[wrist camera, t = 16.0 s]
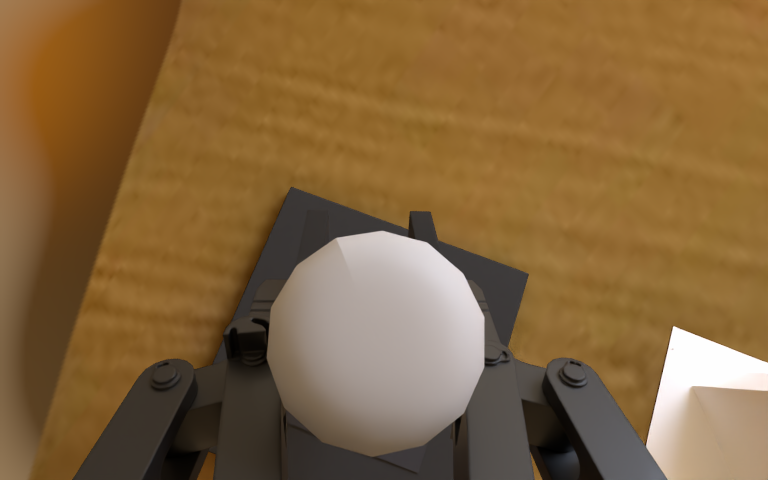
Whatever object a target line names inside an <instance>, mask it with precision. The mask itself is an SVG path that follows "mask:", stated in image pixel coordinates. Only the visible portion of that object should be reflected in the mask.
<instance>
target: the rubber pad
mask: <svg viewBox="0 0 768 480" xmlns="http://www.w3.org/2000/svg"><path fill="white" fill-rule="evenodd" d="M307 210H329V242H331V241H332V240H334V239H335V238H339V237H345V236H352V235H358V234H365V233H371V232H378V231H385V232H389V233H392V234H396V235H400V236H404V237H408V231H409V230H408V229H405V228H402V227H400V226H397V225H394V224H392V223H389V222H386V221H383V220H381V219H378V218H375V217H372V216H370V215H367V214H364V213H361V212H359V211H356V210H353V209H351V208H348V207H345V206H342V205H340V204H337V203H334V202H331V201H329V200H326V199H323V198H320V197H318V196H315V195H312V194H310V193H307V192H304V191H301V190H299V189H296V188H293V187H291V188H290V190H289V192H288V194H287V197H286V199H285V201H284V203H283V206H282V208H281V210H280V212H279V215H278V217H277V219H276V222H275V224H274V226H273V228H272V231H271V233H270V235H269V237H268V240H267V242H266V244H265V246H264V249H263V251H262V253H261V255H260V258H259V260H258V262H257V264H256V267H255V269H254V271H253V273H252V276H251V278H250V280H249V282H248V285H247V287H246V289H245V292H244V294H243V296H242V298H241V301H240V303H239V305H238V307H237V310H236V312H235V314H234V316H233V319H232V321H231V323H232V322H233V321H235V320H237V319H239V318H241V317H245V316H248V315H249V312H250V309H251V306H252V303H253V299H254V296H255V293H256V290H257V288H258V287H259V286H260V285H261V284H262V283H263V282H264V281H265V280H266V279H276V280H288V279H289V277H290V276H291V274H292V272H293V271H294V269H295V267H296V262H297V258H298V253H299V248H300V244H301V239H302V234H303V229H304V225H305V220H306V215H307ZM438 242H439V246H440V250H441V254H442V256H443V257H444V258H446V259H447V260H448V261H449V262H450V263H451V264H453V265H454V266H455V267H456V268H457V269H458V270H460V271H461V272H462V273H463V274H464V276H465V278H466V280H473V281H474V282H475V283H476V284H477V285H478V286H479V287H480V288H481V289H482V291H483V294H484V297H485V300H486V303H487V306H488V308H489V312H490V314H491V317H492V320H493V323H494V325H495V328H496V331H497V334H498V337H499V340H500V342H501V344H502V345H504V346H506V347H508V344H509V341H510V337H511V334H512V330H513V327H514V323H515V320H516V316H517V313H518V310H519V306H520V303H521V299H522V296H523V292H524V289H525V285H526V282H527V279H528V275H529V274H528V273H525V272H523V271H520V270H517V269H514V268H512V267H509V266H506V265H503V264H501V263H498V262H495V261H493V260H490V259H487V258H484V257H482V256H479V255H476V254H473V253H471V252H468V251H465V250H463V249H460V248H457V247H454V246H452V245H449V244H446V243H443V242H441V241H438ZM231 323H230V324H231ZM225 359H227V355H226V350H225V344H224V339H223V341H222V343H221V346H220V348H219V350H218V352H217V355H216V357H215V359H214V362H213V364H212V365H214V364H217V363H219V362H221V361H223V360H225ZM286 418H287V448H288V480H453V439H450V434H451V428H452V423H451V424H450V425H449V426H447V427H446V428H445V429H444V430H442V431H441V432H440V433H438V434H437V435H436V436H435V437H433V438H432V439H431V440H430V441H428V442H427V443H426V444H425V445H423V446H419V447H415V448H410V449H406V450H401V451H397V452H392V453H388V454H383V455H379V456H374V457H370V456H367V455H363V454H360V453H357V452H353V451H350V450H347V449H343V448H340V447H336V446H333V445H330V444H326V443H323V442H321V441H320V440H319V439H318V438H317V437H316V436H315V435H314V434H312V433H311V432H310V431H309V430H308V429H307V428H306V427H305V426H304V425H303V424H302V423H300V422H299V421H298V420H297V419H296V418H295V417H294V416H293V415H292V414H291V413H290V412H288V411H287V410H286ZM216 450H217V446H214V447H211V448H209V452H211V453H214V454H216Z"/></svg>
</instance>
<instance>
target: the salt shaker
mask: <svg viewBox="0 0 768 480" xmlns="http://www.w3.org/2000/svg"><path fill="white" fill-rule="evenodd" d="M267 361H268V364H269V366H270V369H271V372H272V375H273V378H274V381H275V383H276V386H277V389H278V392H279V395H280V398H281V400H282V403H283V406H284V408H285V409H286V410H287V411H288V412H290V413H291V414H292V415H293V416H294V417H295V418H296V419H297V420H298V421H299V422H300V423H302V424H303V425H304V426H305V427H306V428H307V429H308V430H309V431H310V432H311V433H312V434H314V435H315V436H316V437H317V438H318V439H319V440H320V441H321V442H323V443H326V444H330V445H333V446H336V447H340V448H343V449H347V450H350V451H353V452H357V453H360V454H363V455H367V456H370V457H374V456H379V455H383V454H388V453H392V452H397V451H401V450H406V449H410V448H415V447H419V446H423V445H425V444H426V443H427V442H428V441H430V440H431V439H432V438H433V437H435V436H436V435H437V434H438V433H440V432H441V431H442V430H444V429H445V428H446V427H447V426H449V425H450V424H451V423H452V422H454V421H455V420H456V419H457V418H459V417H460V416H461V415H462V414H464V412H465V409H466V407H467V405H468V403H469V400H470V398H471V396H472V394H473V391H474V389H475V387H476V385H477V382H478V380H479V378H480V376H481V373H482V371H483V369H484V315H483V313H482V311H481V309H480V307H479V305H478V303H477V301H476V299H475V297H474V295H473V293H472V291H471V289H470V287H469V285H468V282H467V280H466V278H465V276H464V274H463V273H462V272H461V271H460V270H458V269H457V268H456V267H455V266H454V265H453V264H451V263H450V262H449V261H448V260H447V259H446V258H444V257H443V256H442V255H441V254H440V253H439V252H438V251H436V250H435V249H434V248H433V247H432V246H431V245H429V244H428V243H427V242H423V241H419V240H415V239H411V238H408V237H404V236H400V235H396V234H392V233H389V232H385V231H378V232H371V233H365V234H358V235H352V236H345V237H339V238H335V239H334V240H332V241H331V242H329V243H328V244H327V245H325V246H324V247H322V248H321V249H319V250H318V251H316V252H315V253H314V254H312V255H311V256H309V257H308V258H306V259H305V260H304V261H302V262H301V263H299V264H298V265H297V266H296V267H295V269H294V271H293V272H292V274H291V276H290V277H289V279H288V280H287V282H286V284H285V285H284V287H283V289H282V290H281V292H280V294H279V295H278V297H277V298H276V300H275V302H274V303H273V305H272V307H271V314H270V326H269V337H268V349H267Z"/></svg>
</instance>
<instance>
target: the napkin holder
mask: <svg viewBox="0 0 768 480" xmlns="http://www.w3.org/2000/svg"><path fill="white" fill-rule="evenodd" d="M646 448H647V449H648V451H649V452H650V454H651V455H652V457H653V458H654V460H655V461H656V463H657V464H658V466H659V467H660V469H661V470H662V472H663V473H664V475H665V476H666V478H667V479H668V480H768V363H766V362H763V361H760V360H758V359H755V358H753V357H750V356H748V355H745V354H743V353H740V352H737V351H735V350H732V349H730V348H727V347H725V346H722V345H720V344H717V343H714V342H712V341H709V340H707V339H704V338H702V337H699V336H697V335H694V334H692V333H689V332H686V331H684V330H681V329H679V328H676V327H674V326H673V330H672V334H671V339H670V343H669V347H668V352H667V356H666V361H665V365H664V369H663V374H662V378H661V382H660V387H659V391H658V395H657V400H656V404H655V408H654V413H653V417H652V421H651V426H650V430H649V434H648V439H647V443H646Z"/></svg>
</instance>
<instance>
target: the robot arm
mask: <svg viewBox="0 0 768 480" xmlns="http://www.w3.org/2000/svg"><path fill="white" fill-rule="evenodd" d="M408 238H411V239H415V240H419V241H423V242H427V243H428V244H429V245H431V246H432V247H433V248H434V249H435V250H436V251H438V252H439V253H440V254H441V250H440V246H439V242H438V239H437V235H436V231H435V227H434V223H433V219H432V216H431V212H421V211H410V217H409V231H408ZM328 243H329V210H307V215H306V220H305V225H304V229H303V234H302V239H301V244H300V248H299V253H298V258H297V262H296V266H297V265H298V264H299V263H301V262H302V261H304V260H305V259H306V258H308V257H309V256H311V255H312V254H314V253H315V252H316V251H318V250H319V249H321V248H322V247H324V246H325V245H327V244H328ZM441 255H442V254H441ZM286 282H287V280H276V279H266V280H265V281H264V282H263V283H262V284H261V285H260V286H259V287H258V288H257V290H256V293H255V296H254V299H253V303H252V306H251V309H250V312H249V315H248V316H245V317H241V318H239V319H237V320H235V321H233V322H232V323H231V324H229V325H228V326H227V327H226V329H225V331H224V333H223V338H224V344H225V350H226V355H227V359H225V360H223V361H221V362H219V363H217V364H214V365H211V366H206V367H202V368H198V369H193V366H192V365H191V364H190V363H188V362H187V361H185V360H180V359H167V360H164V361H160V362H157V363H155V364H153V365H152V366H150V367H148V368H147V369H145V371H144V372H143V373H142V374H141V375H140V376H139V377H138V379H137V380H136V382H135V383H134V385H133V386H132V388H131V390H130V391H129V393H128V394H127V396H126V397H125V399H124V400H123V402H122V403H121V405H120V407H119V408H118V410H117V411H116V413H115V414H114V416H113V417H112V419H111V421H110V422H109V424H108V425H107V427H106V428H105V430H104V431H103V433H102V434H101V436H100V438H99V439H98V441H97V442H96V444H95V445H94V447H93V448H92V450H91V451H90V453H89V455H88V456H87V458H86V459H85V461H84V462H83V464H82V465H81V467H80V468H79V470H78V472H77V473H76V475H75V476H74V478H73V479H72V480H197V478H198V475H199V473H200V470H201V468H202V466H203V463H204V461H205V458H206V456H207V453H208V451H209V448H211V447H214V446H217V450H216V459H215V467H214V476H213V480H288V448H287V418H286V409H285V408H284V406H283V403H282V400H281V398H280V395H279V392H278V389H277V386H276V383H275V381H274V378H273V375H272V372H271V369H270V366H269V364H268V361H267V349H268V337H269V326H270V314H271V307H272V305H273V303H274V302H275V300H276V298H277V297H278V295H279V294H280V292H281V290H282V289H283V287H284V285H285V284H286ZM467 282H468V285H469V287H470V289H471V291H472V293H473V295H474V297H475V299H476V301H477V303H478V305H479V307H480V309H481V311H482V313H483V315H484V369H483V371H482V373H481V376H480V378H479V380H478V382H477V385H476V387H475V389H474V391H473V394H472V396H471V398H470V400H469V403H468V405H467V407H466V409H465V412H464V414H462V415H461V416H460V417H459V418H457V419H456V420H455V421H454V422H452V428H451V434H450V439H453V480H535V479H534V473H533V467H532V461H531V455H530V452H531V454H532V456H533V459H534V461H535V463H536V465H537V468H538V470H539V472H540V475H541V477H542V479H543V480H668V479H667V478H666V476H665V475H664V473H663V472H662V470H661V469H660V467H659V466H658V464H657V463H656V461H655V460H654V458H653V457H652V455H651V454H650V452H649V451H648V449H647V448H646V446H645V445H644V443H643V442H642V440H641V439H640V437H639V436H638V434H637V433H636V431H635V430H634V428H633V427H632V425H631V424H630V422H629V421H628V419H627V418H626V417H625V415H624V414H623V412H622V411H621V409H620V408H619V406H618V405H617V403H616V402H615V400H614V399H613V397H612V396H611V394H610V393H609V391H608V390H607V388H606V387H605V385H604V384H603V382H602V381H601V379H600V378H599V376H598V375H597V374H596V373H595V372H594V370H593V369H592V368H591V367H589V366H588V365H586V364H584V363H583V362H581V361H578V360H575V359H572V358H558V359H554V360H552V361H551V362H550V363H549V364H548V365H547V368H543V367H538V366H534V365H530V364H527V363H524V362H521V361H519V360H517V359H515V358H514V357H513V354H512V352H511V351H510V350H509V349H508V348H507V347H506V346H504V345H502V344H501V342H500V340H499V337H498V334H497V331H496V328H495V325H494V323H493V320H492V317H491V314H490V312H489V308H488V306H487V303H486V300H485V297H484V294H483V291H482V289H481V288H480V287H479V286H478V285H477V284H476V283H475V282H474V281H473V280H467Z"/></svg>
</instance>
